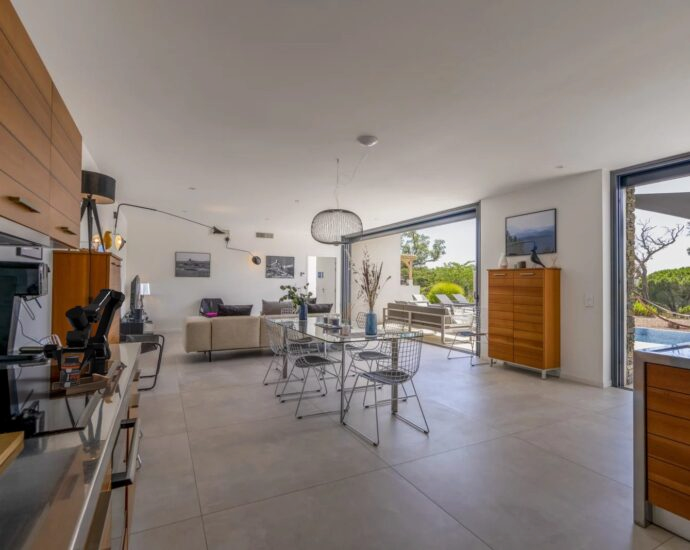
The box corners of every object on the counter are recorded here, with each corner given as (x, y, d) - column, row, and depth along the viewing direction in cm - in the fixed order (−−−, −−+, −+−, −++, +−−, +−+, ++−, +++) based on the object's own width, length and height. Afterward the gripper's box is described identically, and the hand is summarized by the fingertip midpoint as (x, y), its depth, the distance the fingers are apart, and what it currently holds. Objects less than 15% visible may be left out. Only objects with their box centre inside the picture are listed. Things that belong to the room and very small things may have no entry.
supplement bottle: (71, 390, 128) (73, 358, 129) (54, 389, 129) (57, 357, 129) (83, 386, 134) (86, 355, 135) (67, 385, 135) (70, 354, 135)
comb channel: (51, 390, 131) (52, 380, 131) (94, 382, 144) (95, 373, 144) (66, 395, 126) (67, 384, 126) (109, 386, 139) (110, 377, 139)
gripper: (46, 321, 132) (32, 358, 122) (107, 322, 140) (98, 356, 129) (52, 340, 139) (39, 376, 129) (109, 340, 147) (101, 374, 136)
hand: (69, 370), depth 130 cm, fingers closed on supplement bottle, 6 cm apart
